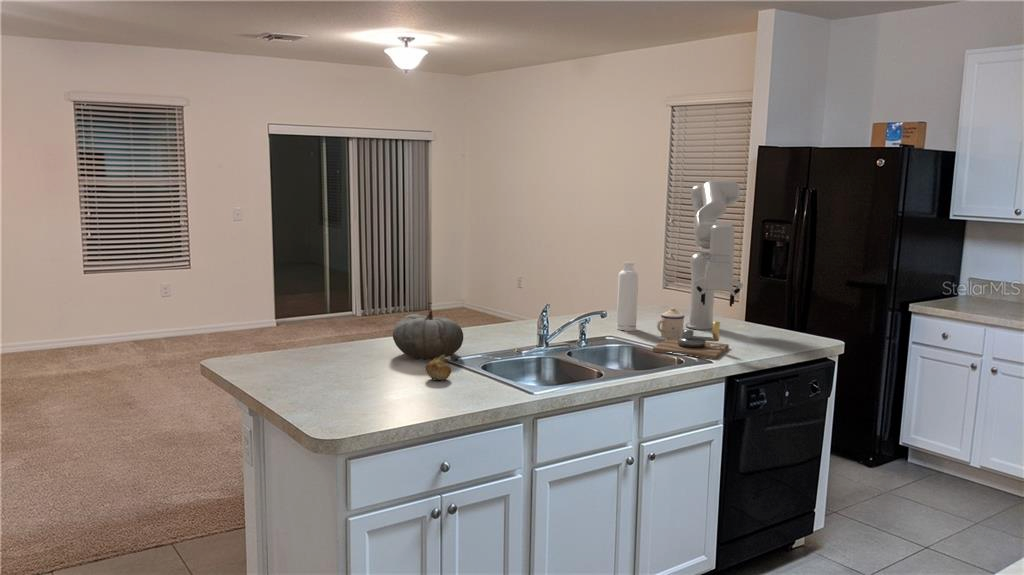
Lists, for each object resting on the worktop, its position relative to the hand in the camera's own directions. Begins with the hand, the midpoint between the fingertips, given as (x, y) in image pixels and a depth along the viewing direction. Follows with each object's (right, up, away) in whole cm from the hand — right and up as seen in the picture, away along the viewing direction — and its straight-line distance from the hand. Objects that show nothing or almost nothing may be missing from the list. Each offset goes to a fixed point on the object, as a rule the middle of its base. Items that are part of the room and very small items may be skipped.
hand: (717, 305), depth 291 cm
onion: (-98, -23, -41) cm, 109 cm away
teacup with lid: (-13, -14, +25) cm, 31 cm away
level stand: (-9, -17, +4) cm, 19 cm away
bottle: (-28, -11, +39) cm, 49 cm away
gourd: (-105, -18, -11) cm, 107 cm away
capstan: (-6, -15, +3) cm, 16 cm away
